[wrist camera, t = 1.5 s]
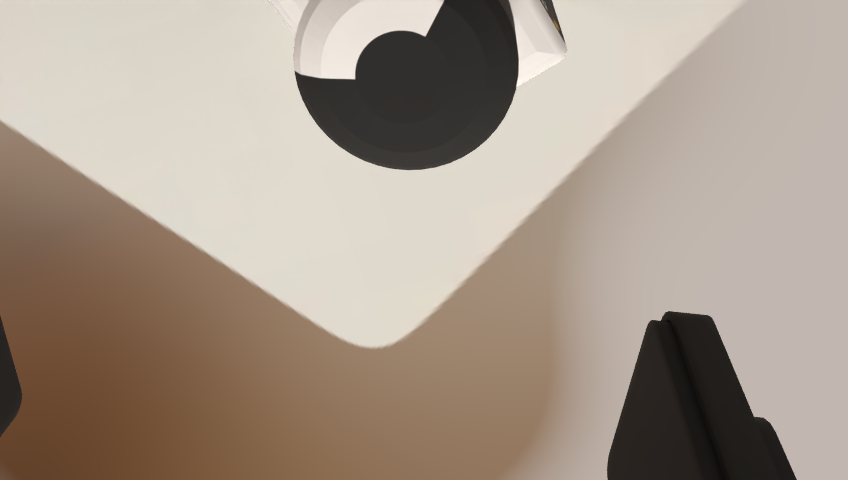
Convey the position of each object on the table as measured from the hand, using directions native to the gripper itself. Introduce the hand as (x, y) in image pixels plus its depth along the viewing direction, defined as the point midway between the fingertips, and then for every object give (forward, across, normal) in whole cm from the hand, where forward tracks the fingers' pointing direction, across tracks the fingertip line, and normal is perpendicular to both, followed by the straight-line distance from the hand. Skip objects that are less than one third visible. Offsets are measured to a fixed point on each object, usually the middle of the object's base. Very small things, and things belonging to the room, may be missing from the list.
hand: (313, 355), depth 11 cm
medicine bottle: (+23, 0, 0) cm, 23 cm away
